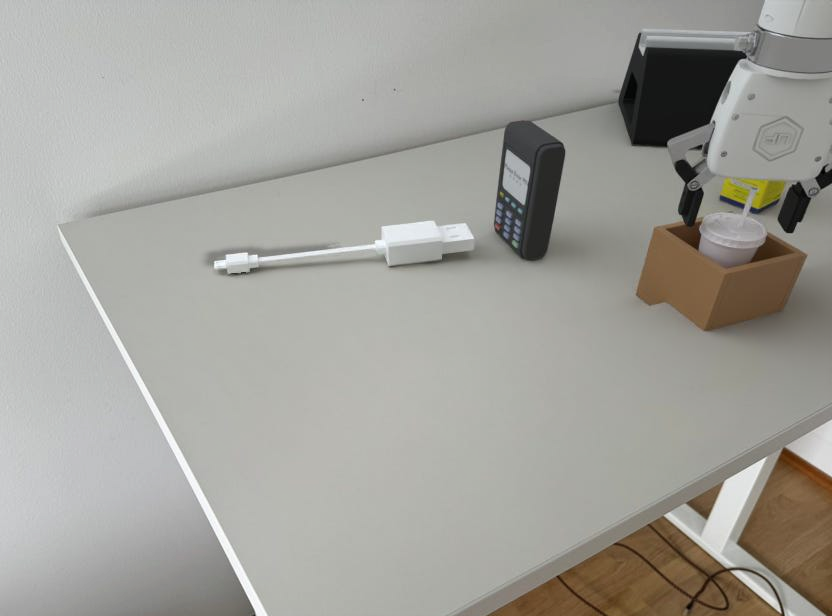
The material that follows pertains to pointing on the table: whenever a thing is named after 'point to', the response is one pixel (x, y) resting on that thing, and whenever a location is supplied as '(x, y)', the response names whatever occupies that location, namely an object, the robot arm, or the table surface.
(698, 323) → the open box
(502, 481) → the table surface
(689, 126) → the device stand
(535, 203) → the card reader
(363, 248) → the charging cable
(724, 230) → the smoothie
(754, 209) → the supplement box
